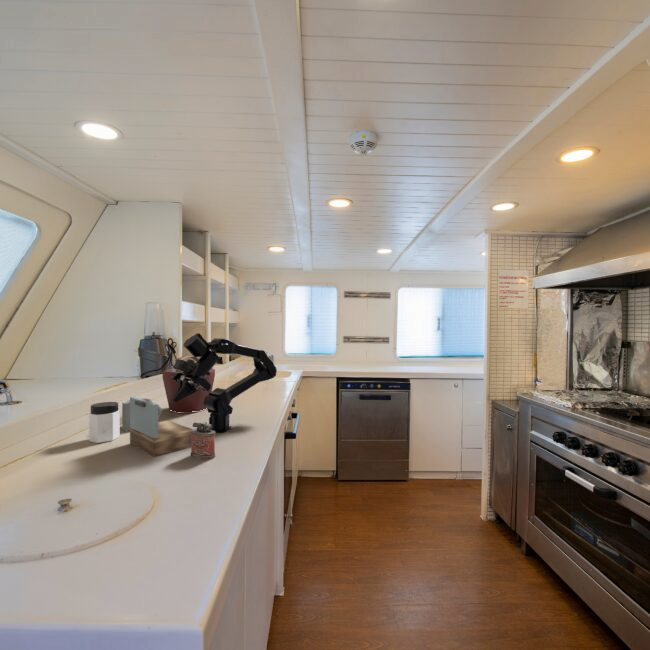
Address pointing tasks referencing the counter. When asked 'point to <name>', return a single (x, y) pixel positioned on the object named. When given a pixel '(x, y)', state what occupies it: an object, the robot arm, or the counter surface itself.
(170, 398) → the bucket
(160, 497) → the counter surface
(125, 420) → the grey mug
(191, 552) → the counter surface
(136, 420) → the grey flat slab
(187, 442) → the cart bed
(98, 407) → the jar
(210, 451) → the lighter
